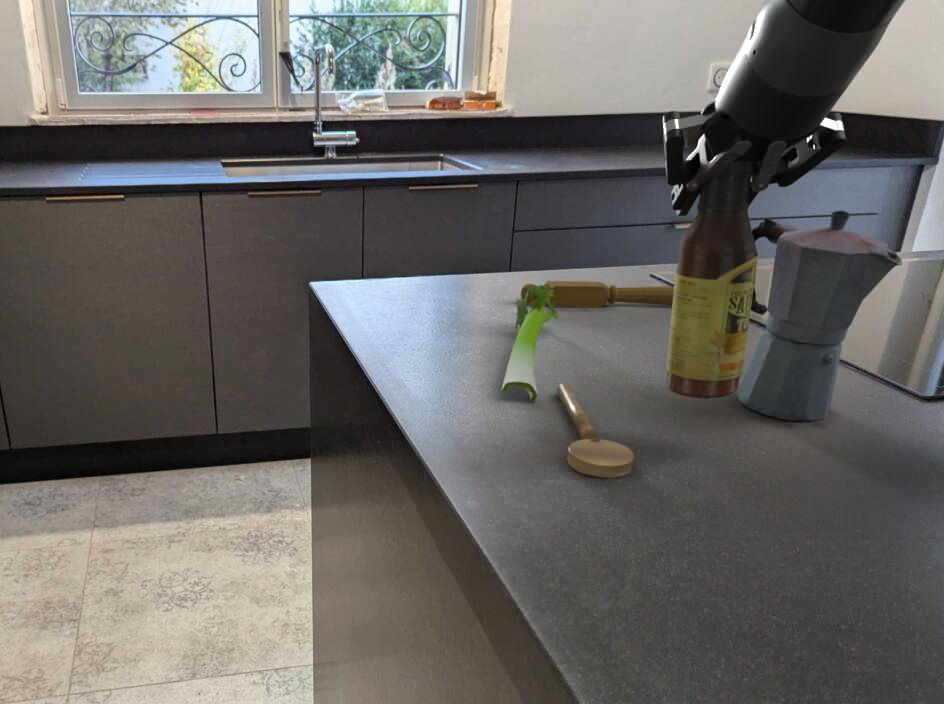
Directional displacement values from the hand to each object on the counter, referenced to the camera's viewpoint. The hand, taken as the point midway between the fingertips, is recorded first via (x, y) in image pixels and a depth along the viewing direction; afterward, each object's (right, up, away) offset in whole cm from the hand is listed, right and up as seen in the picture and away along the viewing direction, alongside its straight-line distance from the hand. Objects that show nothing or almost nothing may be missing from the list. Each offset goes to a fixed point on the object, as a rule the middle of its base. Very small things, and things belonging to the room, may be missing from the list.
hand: (705, 207), depth 71 cm
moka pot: (+14, -16, +15) cm, 26 cm away
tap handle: (+10, 0, +50) cm, 51 cm away
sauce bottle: (+1, -16, +3) cm, 16 cm away
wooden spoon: (-8, -19, +9) cm, 23 cm away
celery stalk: (-9, -10, +29) cm, 32 cm away
